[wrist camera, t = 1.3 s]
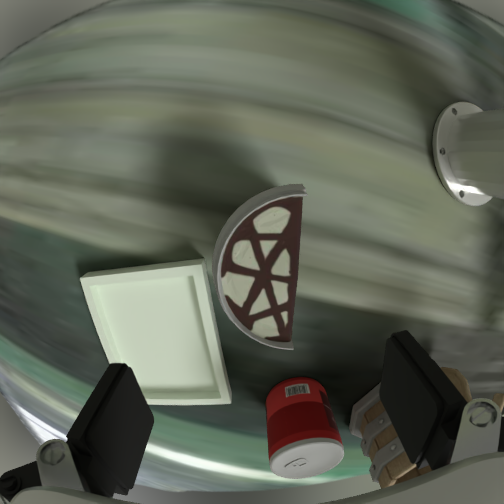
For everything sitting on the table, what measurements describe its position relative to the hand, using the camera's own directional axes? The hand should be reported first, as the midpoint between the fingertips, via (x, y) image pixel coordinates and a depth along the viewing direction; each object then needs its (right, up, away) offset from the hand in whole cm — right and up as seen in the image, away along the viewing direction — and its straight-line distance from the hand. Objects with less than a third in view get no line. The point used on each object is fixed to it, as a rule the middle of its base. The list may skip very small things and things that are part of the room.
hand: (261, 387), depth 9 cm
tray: (-11, -5, +22) cm, 25 cm away
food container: (0, +6, +20) cm, 20 cm away
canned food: (+5, -14, +25) cm, 29 cm away
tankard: (+23, -16, +26) cm, 38 cm away
